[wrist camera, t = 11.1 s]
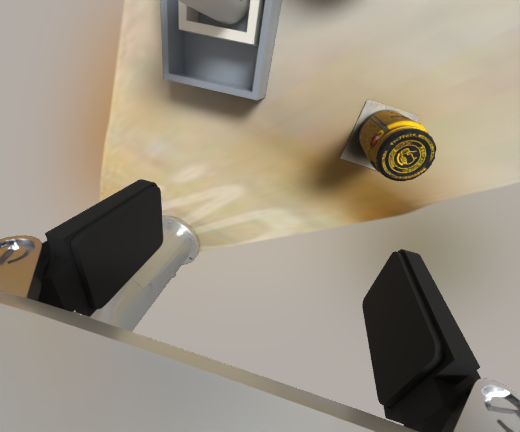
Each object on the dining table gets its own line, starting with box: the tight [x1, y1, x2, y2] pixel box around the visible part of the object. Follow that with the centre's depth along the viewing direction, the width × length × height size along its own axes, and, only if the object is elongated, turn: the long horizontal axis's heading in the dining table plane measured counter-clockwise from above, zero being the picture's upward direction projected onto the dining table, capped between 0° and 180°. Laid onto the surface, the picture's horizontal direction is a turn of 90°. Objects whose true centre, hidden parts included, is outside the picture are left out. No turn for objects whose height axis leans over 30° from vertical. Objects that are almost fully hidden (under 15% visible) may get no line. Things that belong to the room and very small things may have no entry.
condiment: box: [340, 99, 436, 181], centre depth 29 cm, size 7×8×12 cm
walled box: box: [160, 0, 282, 100], centre depth 29 cm, size 16×13×5 cm
